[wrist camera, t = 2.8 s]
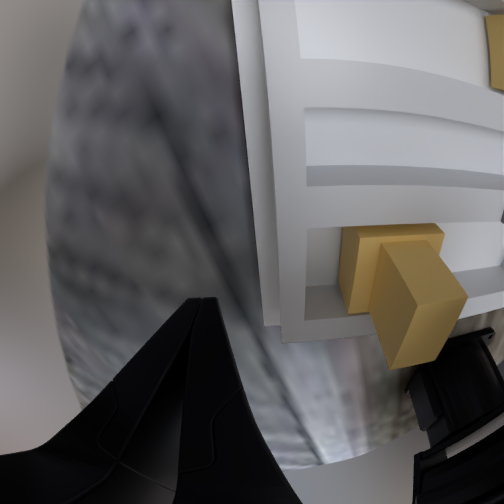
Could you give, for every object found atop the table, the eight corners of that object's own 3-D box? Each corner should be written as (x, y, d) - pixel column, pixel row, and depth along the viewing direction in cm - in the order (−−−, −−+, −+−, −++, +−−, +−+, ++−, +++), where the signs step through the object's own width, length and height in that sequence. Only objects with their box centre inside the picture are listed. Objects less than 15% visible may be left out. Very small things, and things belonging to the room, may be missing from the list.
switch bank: (524, 11, 4) (567, 14, 1) (492, 281, 12) (517, 316, 10) (226, -65, 5) (214, -108, 2) (263, 307, 13) (264, 362, 11)
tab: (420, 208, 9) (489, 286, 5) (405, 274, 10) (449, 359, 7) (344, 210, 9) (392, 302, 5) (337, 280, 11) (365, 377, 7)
